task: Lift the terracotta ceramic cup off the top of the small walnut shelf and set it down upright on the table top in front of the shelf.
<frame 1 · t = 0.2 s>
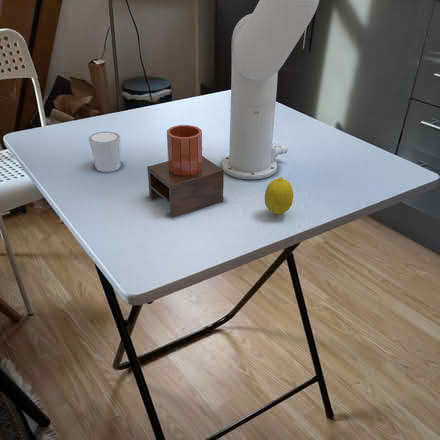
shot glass: (108, 167, 119), on the table
lemon: (277, 215, 103), on the table
shelf: (186, 199, 107), on the table
cup: (185, 168, 103), point 7 cm above the table, touching shelf
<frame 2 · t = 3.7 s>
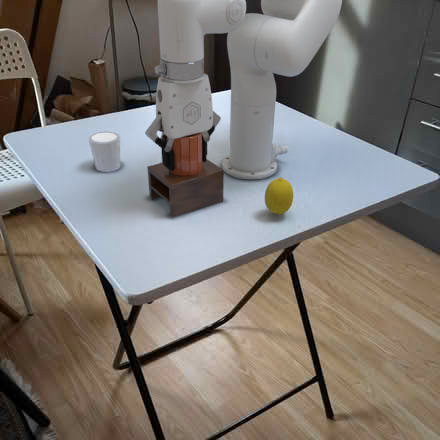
hand: (185, 163, 102), 8 cm above the table, tool pointing down, fingers closed on cup, 6 cm apart
cup: (185, 168, 103), point 7 cm above the table, touching gripper, shelf
everything else where it was.
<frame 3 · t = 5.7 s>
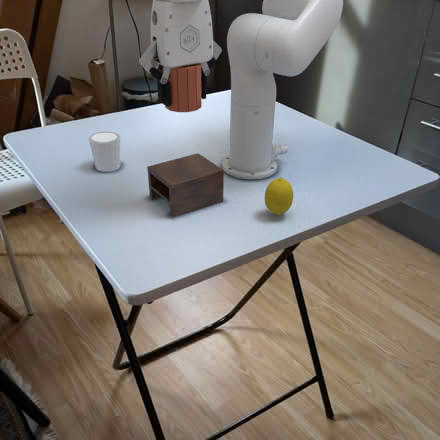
hand: (183, 99, 94), 21 cm above the table, tool pointing down, fingers closed on cup, 6 cm apart
cup: (183, 106, 95), point 19 cm above the table, touching gripper
everything else where it was.
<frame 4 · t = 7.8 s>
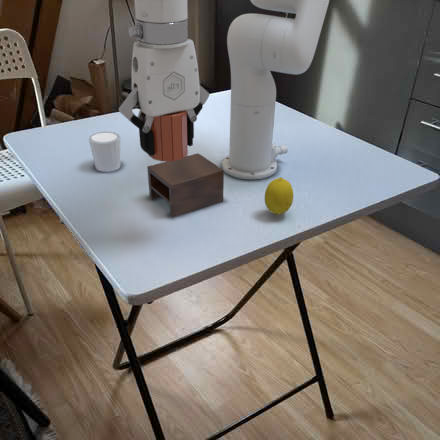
hand: (167, 147, 87), 17 cm above the table, tool pointing down, fingers closed on cup, 6 cm apart
cup: (168, 153, 88), point 16 cm above the table, touching gripper
everything else where it was.
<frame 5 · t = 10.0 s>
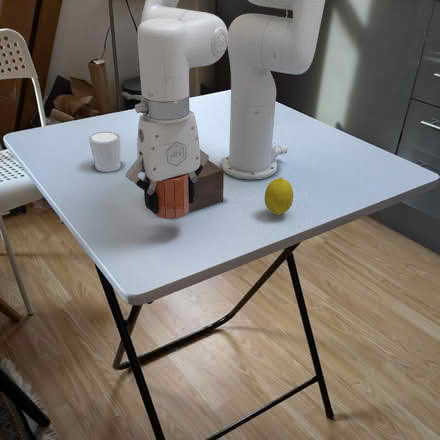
hand: (170, 204, 94), 6 cm above the table, tool pointing down, fingers closed on cup, 6 cm apart
cup: (170, 209, 95), point 5 cm above the table, touching gripper
everything else where it was.
when the fingers open (1 cm above the table, at t = 11.7 s): cup stays where it is, on the table.
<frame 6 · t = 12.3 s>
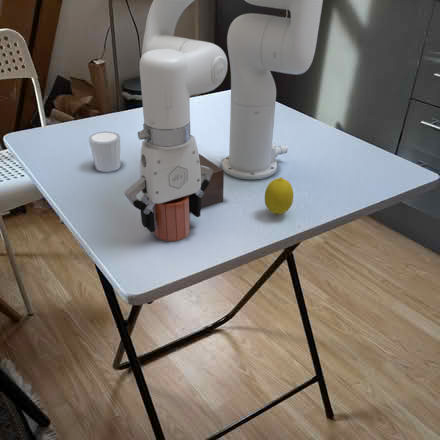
hand: (172, 221, 97), 2 cm above the table, tool pointing down, fingers open, 9 cm apart
cup: (172, 231, 98), on the table
everything else where it was.
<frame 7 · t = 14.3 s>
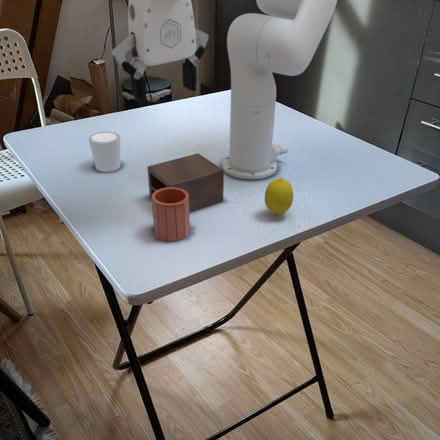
hand: (165, 94, 88), 23 cm above the table, tool pointing down, fingers open, 9 cm apart
nothing on the table moved.
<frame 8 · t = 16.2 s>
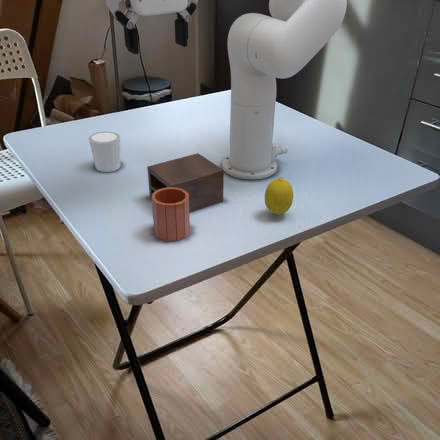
hand: (157, 48, 92), 28 cm above the table, tool pointing down, fingers open, 9 cm apart
nothing on the table moved.
at the end: cup inside the target area (0.2 cm from its centre), on the table; cup tilted 0°; cup touching table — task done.
